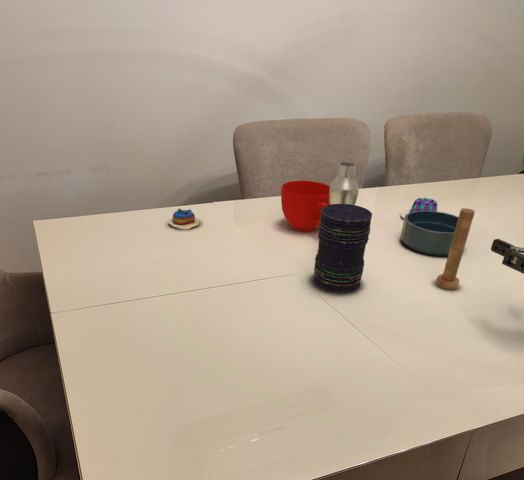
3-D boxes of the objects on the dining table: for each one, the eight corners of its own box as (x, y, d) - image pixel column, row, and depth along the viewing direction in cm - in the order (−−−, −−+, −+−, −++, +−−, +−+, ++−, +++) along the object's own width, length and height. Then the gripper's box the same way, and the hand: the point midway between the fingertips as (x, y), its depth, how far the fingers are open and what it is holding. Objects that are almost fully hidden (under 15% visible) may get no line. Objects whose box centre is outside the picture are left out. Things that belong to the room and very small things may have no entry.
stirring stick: (460, 284, 106) (482, 210, 97) (453, 292, 103) (475, 216, 94) (440, 278, 108) (460, 205, 99) (432, 285, 105) (452, 210, 96)
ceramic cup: (300, 245, 119) (304, 203, 114) (270, 220, 132) (272, 182, 126) (346, 238, 124) (352, 198, 118) (313, 215, 137) (317, 178, 131)
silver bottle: (344, 246, 120) (356, 160, 108) (353, 258, 114) (367, 168, 103) (318, 247, 119) (328, 160, 107) (325, 259, 113) (337, 168, 102)
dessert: (183, 229, 122) (174, 206, 121) (169, 238, 127) (160, 216, 126) (207, 223, 128) (198, 201, 127) (192, 232, 132) (183, 211, 132)
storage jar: (362, 275, 107) (374, 207, 99) (359, 296, 99) (371, 223, 91) (316, 269, 109) (324, 201, 100) (309, 289, 101) (317, 217, 92)
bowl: (471, 244, 125) (478, 221, 121) (450, 263, 114) (457, 238, 111) (414, 228, 132) (419, 206, 129) (389, 245, 122) (394, 221, 118)
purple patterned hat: (441, 214, 142) (446, 196, 139) (447, 229, 133) (452, 210, 130) (399, 210, 144) (402, 191, 141) (401, 224, 134) (405, 205, 131)
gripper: (632, 249, 79) (543, 215, 90) (575, 263, 73) (488, 225, 85) (611, 291, 83) (529, 254, 95) (556, 308, 77) (475, 266, 89)
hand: (510, 240), depth 90 cm, fingers open, 8 cm apart
